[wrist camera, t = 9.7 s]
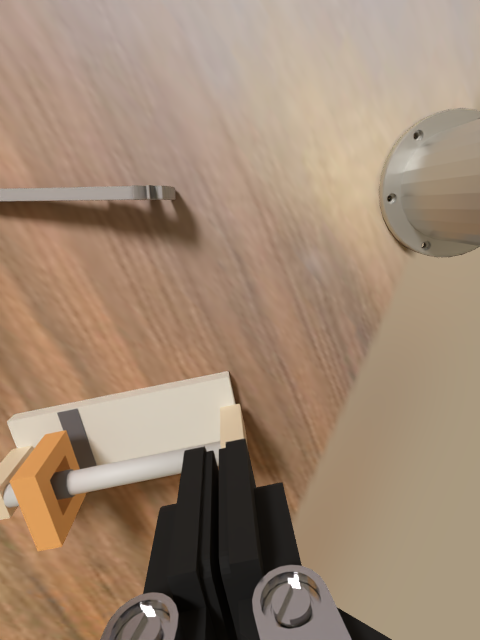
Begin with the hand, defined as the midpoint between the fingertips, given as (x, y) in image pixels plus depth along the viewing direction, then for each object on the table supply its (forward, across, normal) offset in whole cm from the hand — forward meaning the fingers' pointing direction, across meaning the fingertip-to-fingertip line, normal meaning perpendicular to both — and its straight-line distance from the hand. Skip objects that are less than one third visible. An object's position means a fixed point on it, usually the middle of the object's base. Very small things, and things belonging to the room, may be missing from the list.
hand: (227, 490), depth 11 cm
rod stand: (+29, +12, +13) cm, 34 cm away
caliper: (+30, +12, -11) cm, 34 cm away
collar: (+25, +18, +13) cm, 34 cm away
